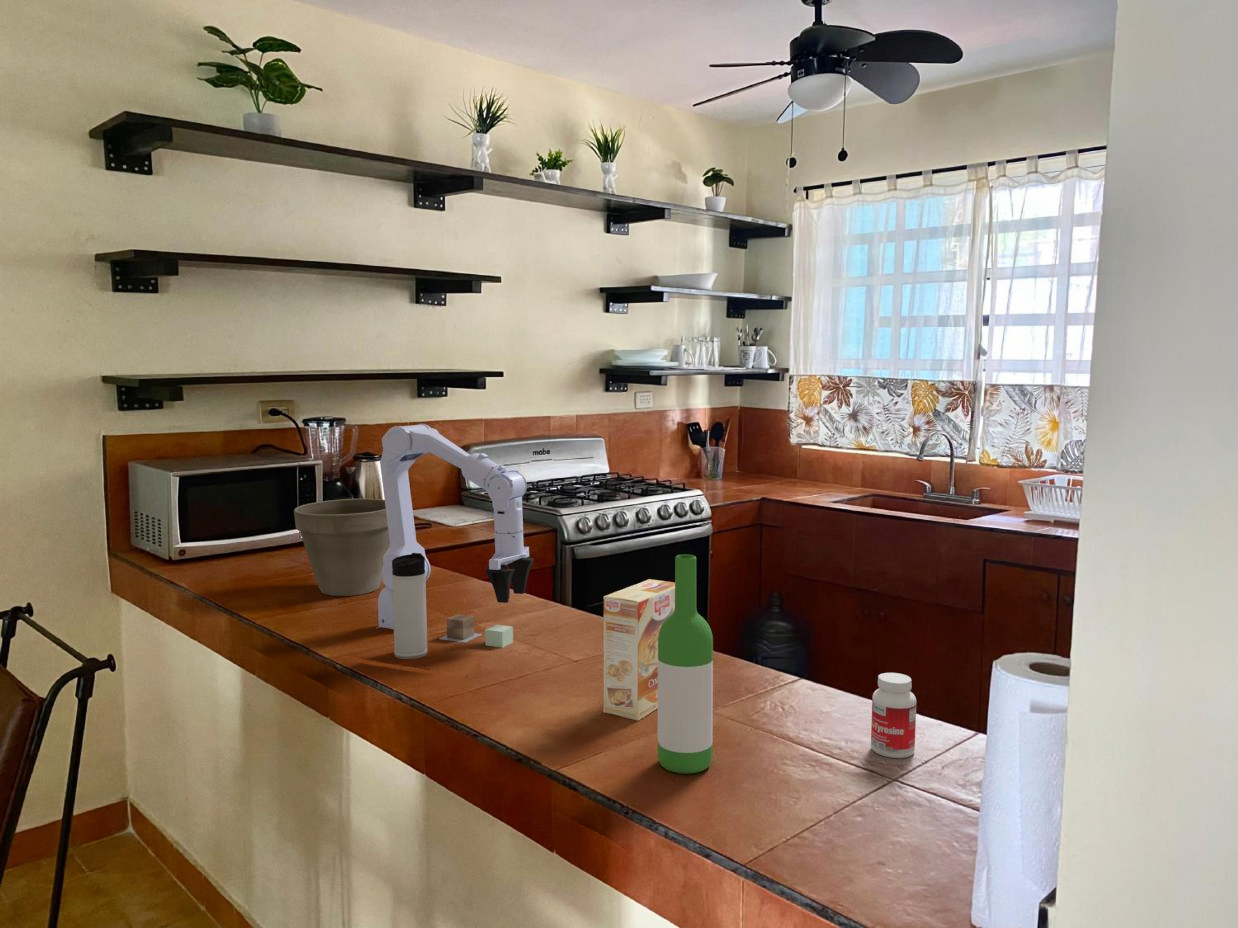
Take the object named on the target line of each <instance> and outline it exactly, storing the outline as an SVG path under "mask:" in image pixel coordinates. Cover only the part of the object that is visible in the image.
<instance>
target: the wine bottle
mask: <svg viewBox="0 0 1238 928" xmlns="http://www.w3.org/2000/svg"><path fill="white" fill-rule="evenodd" d="M674 558H675V559H674V563H675V564H674V565H675V566H674V567H675V568H674V569H675V570H674V572H675V573H674V583H675V610H674V613H673V614H672V615H670V616H669V617H668V618H667V619H666V620H665V621H664V623H663V624H662V626H661V628H660V632H659V637H658V708H657V759H658V762H659V763H660V766H662V768H663V769H666V770H667V771H669V772H672V773H675V774H683V775H684V774H685V775H686V774H687V775H688V774H696V773H700V772H703V771H704V770H706V769H707V768H709V766H710V765H711V764H712V761H713V744H714V743H713V738H714V736H713V735H714V734H713V728H714V726H713V724H714V723H713V722H714V721H713V717H714V716H713V715H714V712H713V711H714V706H713V703H714V702H713V699H714V695H713V694H714V684H713V683H714V655H713V654H714V638H713V637H714V636H713V633H712V629H711V627H710V625H709V623H708V622H707V620H705V618H704V617H703V616H701V615H700V613H699V612H698V610H697V557H696V555H694V554H689V553H688V554H687V553H684V554H677V555H676V556H675V557H674Z"/></svg>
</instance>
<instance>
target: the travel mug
mask: <svg viewBox="0 0 1238 928" xmlns="http://www.w3.org/2000/svg"><path fill="white" fill-rule="evenodd" d="M424 568H425V557H424V556H422V555H421V553H412V554H411V555H403V556H399V557H396V558H395V559H393V560H392V569H393V571H392V577H393V578H392V588H393V622H394V629H393V647H394V648H393V649H394V652H393V653H394V657H395V658H396V659H400V660H414V659H420V658H422V657H423V658H424V657H425V656H427V654H428V626H427V625H428V624H427V590H426V589H427V586H426V584H427V583H426V581H427V580H426V579H425V569H424Z"/></svg>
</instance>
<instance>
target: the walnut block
mask: <svg viewBox="0 0 1238 928" xmlns="http://www.w3.org/2000/svg"><path fill="white" fill-rule="evenodd" d="M474 633H475V616H474V615H468V614H467V615H466V614H459V613H457V614H455V615H452V616H450V617H448V618H446V635H447V638H452V639H459V640H465V639H467V638H469V637H471V636H473V635H474Z"/></svg>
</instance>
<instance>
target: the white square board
mask: <svg viewBox="0 0 1238 928" xmlns="http://www.w3.org/2000/svg"><path fill="white" fill-rule="evenodd" d="M482 635H483V633H476V632H474V635H473V636H471V637H469V638H467V639H465V640H459V639H452V638H447V634H446V635H444V636H442V637H440V638H438V640H442V641H443V640H444V641H450V642H458V643H464V644H465V643H467V642H469V641H472V640H474V639H475V638H479V637H480V636H482Z"/></svg>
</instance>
